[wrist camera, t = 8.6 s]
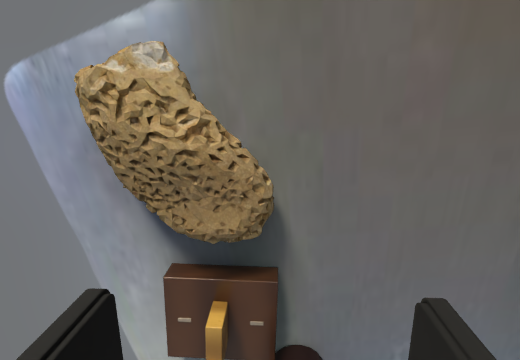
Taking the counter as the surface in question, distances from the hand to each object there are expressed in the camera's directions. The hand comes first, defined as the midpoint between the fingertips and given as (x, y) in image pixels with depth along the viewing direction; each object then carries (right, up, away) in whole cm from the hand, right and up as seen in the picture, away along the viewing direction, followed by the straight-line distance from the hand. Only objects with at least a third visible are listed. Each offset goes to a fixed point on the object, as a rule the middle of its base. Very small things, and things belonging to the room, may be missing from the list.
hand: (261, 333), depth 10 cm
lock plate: (-4, -10, +27) cm, 29 cm away
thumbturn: (-4, -10, +24) cm, 27 cm away
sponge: (-7, +8, +23) cm, 25 cm away
